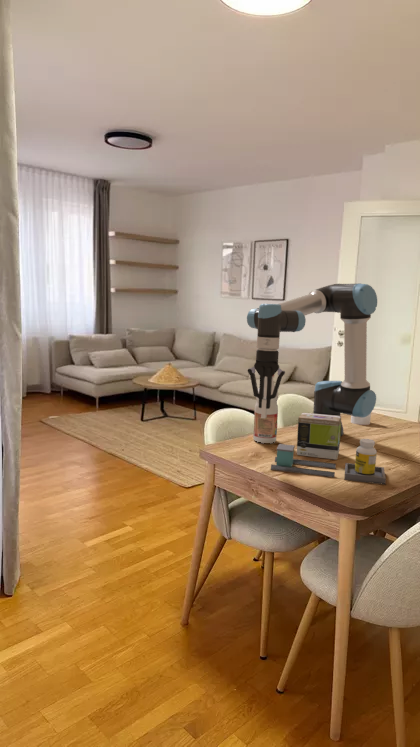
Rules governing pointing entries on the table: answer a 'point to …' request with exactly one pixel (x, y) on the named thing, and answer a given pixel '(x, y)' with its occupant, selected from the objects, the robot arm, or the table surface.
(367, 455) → the pill bottle
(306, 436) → the tea box
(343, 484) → the table surface
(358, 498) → the table surface
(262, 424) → the fruit juice
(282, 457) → the teal and grey cube
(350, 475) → the tray
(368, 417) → the white cylinder
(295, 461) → the guide rail
